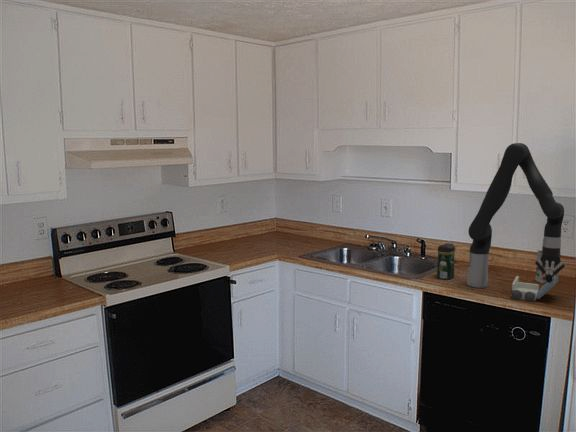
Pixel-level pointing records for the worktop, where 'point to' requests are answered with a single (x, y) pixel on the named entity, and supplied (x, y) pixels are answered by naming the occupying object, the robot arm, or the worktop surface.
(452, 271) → the coffee jar
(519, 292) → the cart
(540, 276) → the coffee box
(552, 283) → the tailgate
